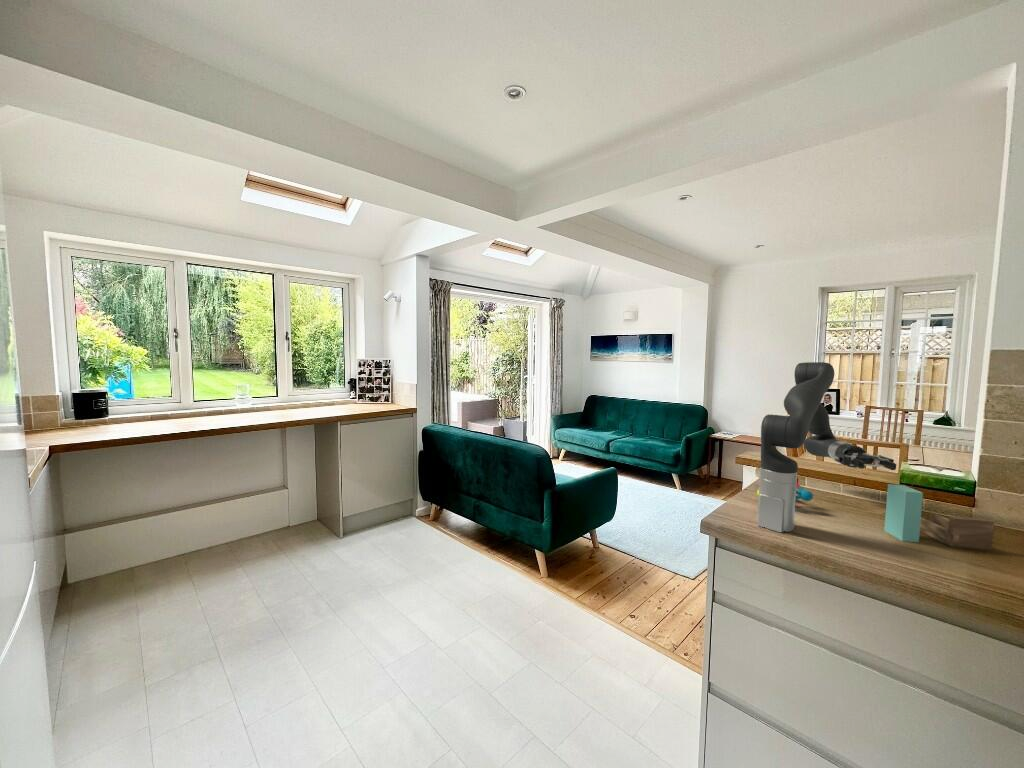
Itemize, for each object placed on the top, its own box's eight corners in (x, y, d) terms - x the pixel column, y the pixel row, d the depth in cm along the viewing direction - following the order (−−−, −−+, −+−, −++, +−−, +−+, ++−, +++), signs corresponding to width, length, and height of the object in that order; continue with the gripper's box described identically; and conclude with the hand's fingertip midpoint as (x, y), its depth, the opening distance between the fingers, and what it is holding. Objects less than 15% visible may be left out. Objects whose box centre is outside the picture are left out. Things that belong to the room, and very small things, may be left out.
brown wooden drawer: (991, 550, 109) (994, 521, 109) (951, 547, 111) (954, 518, 110) (935, 524, 127) (937, 498, 126) (901, 521, 129) (903, 496, 128)
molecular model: (771, 519, 136) (818, 504, 133) (758, 493, 137) (805, 477, 134) (755, 504, 151) (797, 490, 148) (744, 480, 152) (786, 465, 148)
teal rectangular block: (918, 542, 114) (923, 492, 113) (902, 540, 114) (906, 491, 113) (899, 531, 120) (903, 485, 120) (884, 530, 121) (888, 484, 120)
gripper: (824, 442, 144) (853, 453, 128) (870, 444, 142) (906, 455, 126) (822, 463, 145) (851, 476, 129) (868, 465, 142) (904, 479, 126)
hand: (878, 466), depth 127 cm, fingers open, 8 cm apart
